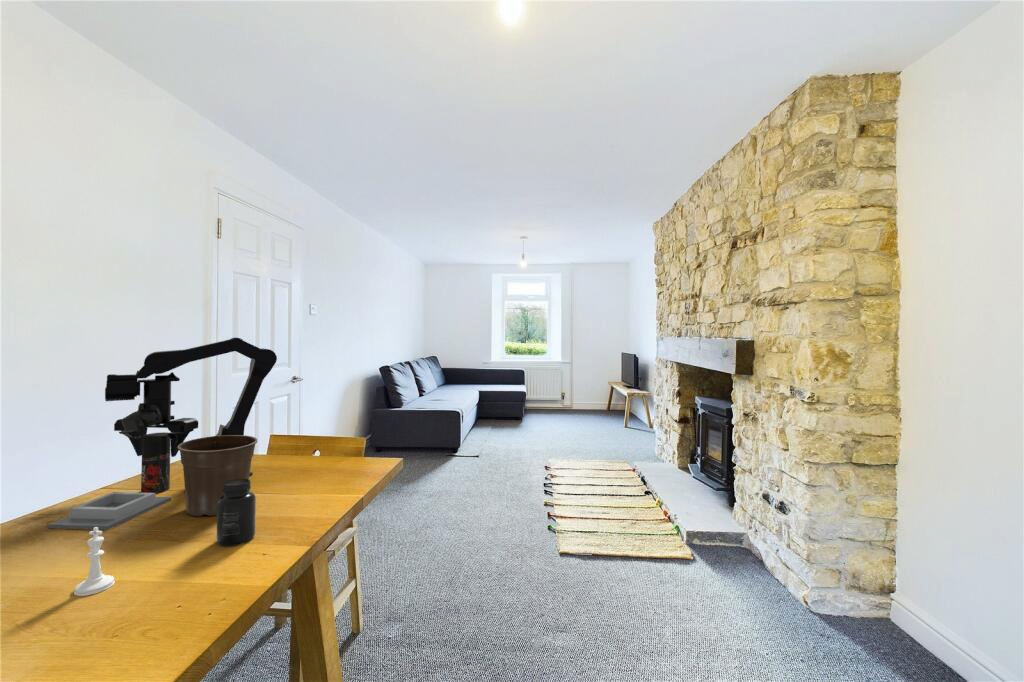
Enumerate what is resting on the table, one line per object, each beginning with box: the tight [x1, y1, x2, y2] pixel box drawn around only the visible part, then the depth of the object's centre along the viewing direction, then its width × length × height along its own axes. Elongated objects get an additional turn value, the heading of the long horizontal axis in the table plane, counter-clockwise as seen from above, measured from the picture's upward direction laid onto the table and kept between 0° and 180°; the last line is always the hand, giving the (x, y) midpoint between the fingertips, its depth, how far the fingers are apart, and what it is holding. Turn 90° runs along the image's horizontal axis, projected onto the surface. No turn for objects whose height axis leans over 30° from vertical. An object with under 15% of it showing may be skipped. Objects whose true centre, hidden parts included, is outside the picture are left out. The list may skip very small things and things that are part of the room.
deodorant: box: [140, 431, 171, 495], centre depth 116 cm, size 6×6×15 cm
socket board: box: [47, 491, 172, 531], centre depth 101 cm, size 13×17×3 cm
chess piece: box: [73, 527, 115, 597], centre depth 72 cm, size 5×5×10 cm
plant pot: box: [178, 434, 258, 517], centre depth 106 cm, size 16×16×16 cm
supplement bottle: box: [216, 478, 257, 547], centre depth 90 cm, size 7×7×12 cm
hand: (156, 456), depth 117 cm, fingers open, 9 cm apart
